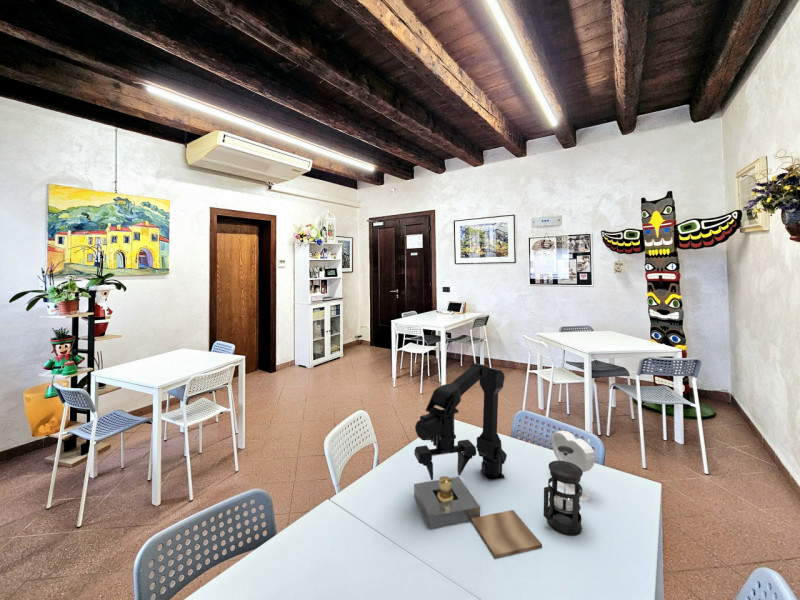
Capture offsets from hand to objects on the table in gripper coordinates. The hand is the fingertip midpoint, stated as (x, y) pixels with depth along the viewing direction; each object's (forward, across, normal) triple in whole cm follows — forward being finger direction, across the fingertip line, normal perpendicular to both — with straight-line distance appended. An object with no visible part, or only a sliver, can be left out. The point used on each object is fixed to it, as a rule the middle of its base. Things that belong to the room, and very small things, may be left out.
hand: (445, 477), depth 109 cm
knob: (+10, 0, 0) cm, 10 cm away
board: (+10, -12, +15) cm, 22 cm away
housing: (+10, 0, 0) cm, 10 cm away
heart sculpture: (+10, -45, +2) cm, 46 cm away
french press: (+10, -30, +16) cm, 36 cm away
